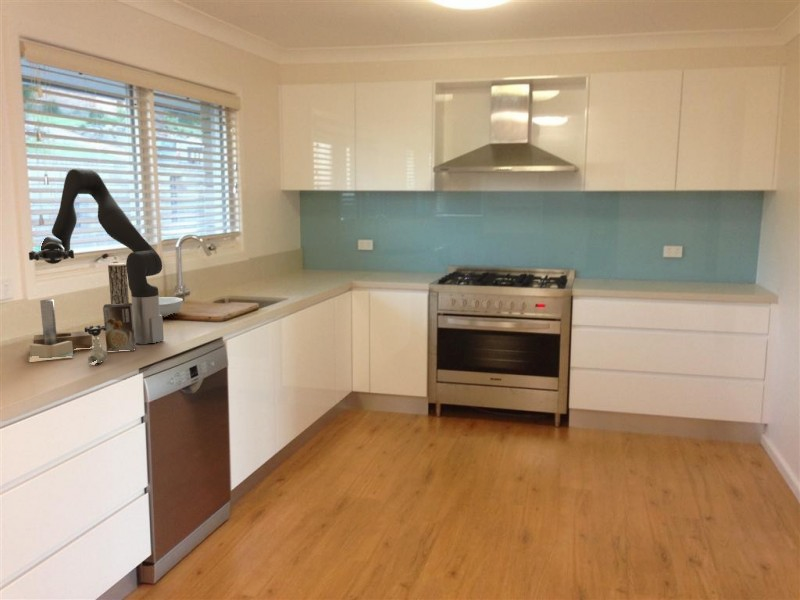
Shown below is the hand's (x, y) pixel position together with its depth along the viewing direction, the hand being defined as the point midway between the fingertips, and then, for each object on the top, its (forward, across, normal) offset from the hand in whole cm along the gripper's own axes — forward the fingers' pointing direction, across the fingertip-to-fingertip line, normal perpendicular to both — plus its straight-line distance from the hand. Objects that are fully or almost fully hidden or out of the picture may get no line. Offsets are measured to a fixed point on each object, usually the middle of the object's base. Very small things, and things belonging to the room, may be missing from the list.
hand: (51, 256), depth 237 cm
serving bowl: (-44, +38, +32) cm, 66 cm away
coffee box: (+15, +20, +32) cm, 41 cm away
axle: (+14, -2, +31) cm, 34 cm away
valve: (+31, +12, +32) cm, 46 cm away
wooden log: (-31, +22, +32) cm, 50 cm away
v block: (+15, -2, +32) cm, 35 cm away
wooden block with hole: (+5, +2, +32) cm, 32 cm away
